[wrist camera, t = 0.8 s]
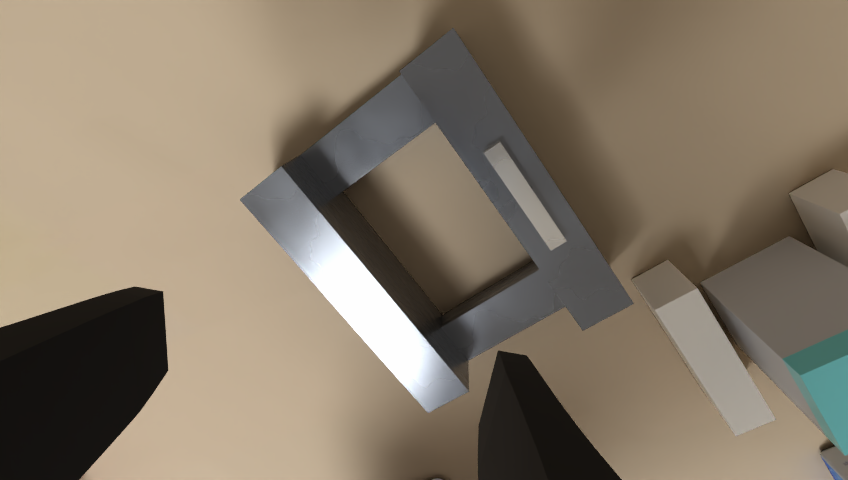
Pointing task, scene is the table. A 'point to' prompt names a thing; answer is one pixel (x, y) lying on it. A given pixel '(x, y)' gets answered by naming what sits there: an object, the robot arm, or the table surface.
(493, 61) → the table surface
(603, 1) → the table surface
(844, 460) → the medicine box
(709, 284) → the plug
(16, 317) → the table surface
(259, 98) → the table surface
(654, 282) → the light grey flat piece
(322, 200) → the port
